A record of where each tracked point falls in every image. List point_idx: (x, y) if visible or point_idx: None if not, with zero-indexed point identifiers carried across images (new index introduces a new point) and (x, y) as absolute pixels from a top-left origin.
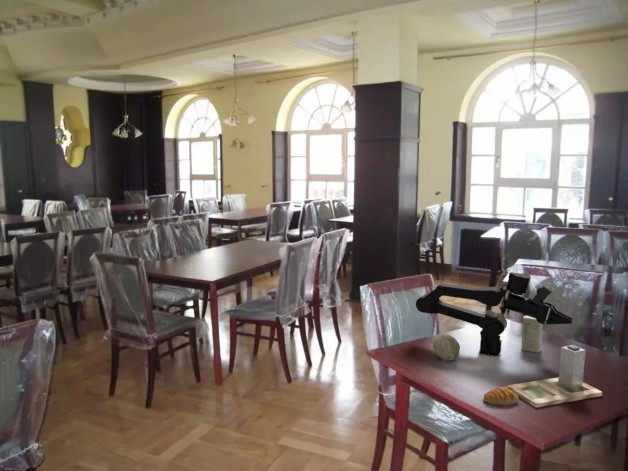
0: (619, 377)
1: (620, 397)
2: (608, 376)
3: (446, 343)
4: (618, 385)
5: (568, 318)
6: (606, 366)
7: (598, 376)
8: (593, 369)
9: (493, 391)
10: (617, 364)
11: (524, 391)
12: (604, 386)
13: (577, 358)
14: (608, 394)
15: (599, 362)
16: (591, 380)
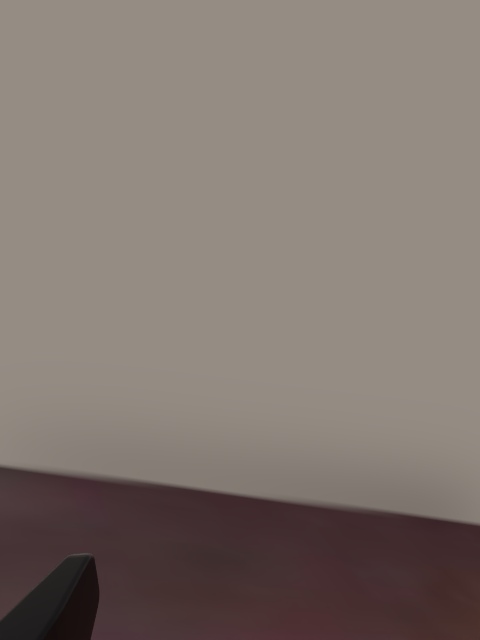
0: (229, 502)
1: (442, 524)
2: (243, 544)
3: None
4: (325, 516)
5: (72, 635)
6: (98, 539)
7: (273, 592)
8: (174, 614)
9: None
10: (55, 489)
11: None
12: (385, 573)
13: None
14: (459, 564)
15: (35, 570)
16: (360, 636)
